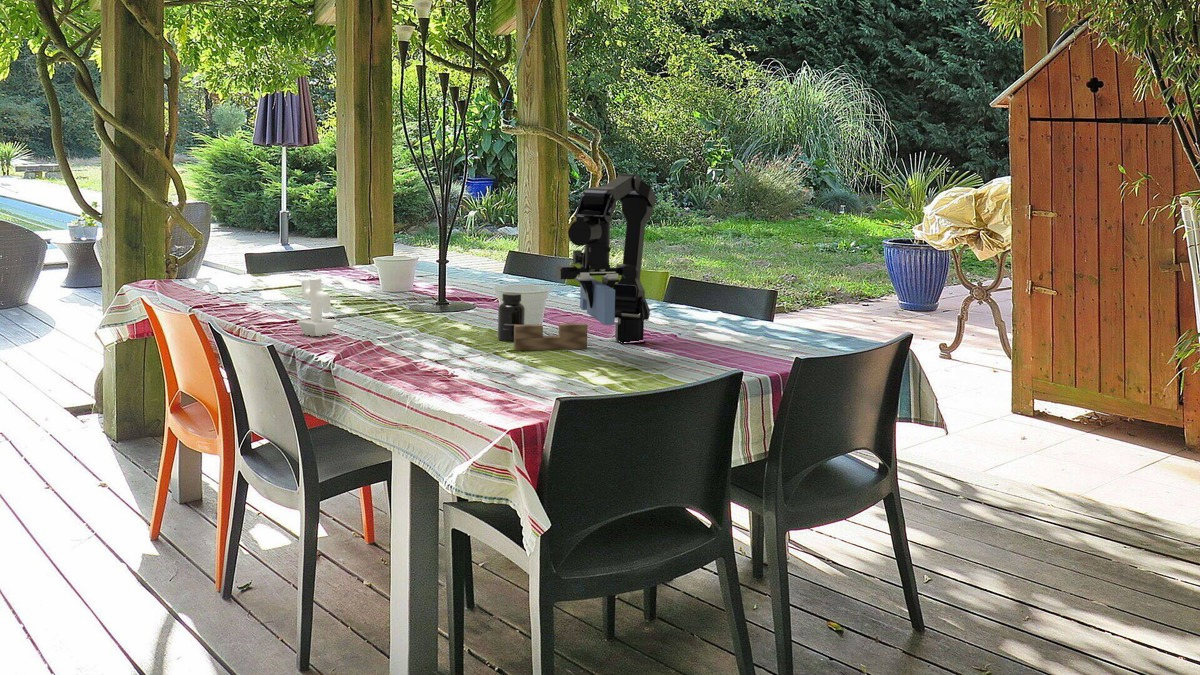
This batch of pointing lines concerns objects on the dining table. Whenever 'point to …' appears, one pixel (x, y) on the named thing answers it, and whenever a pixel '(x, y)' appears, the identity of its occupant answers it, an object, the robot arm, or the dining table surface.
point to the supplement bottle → (510, 316)
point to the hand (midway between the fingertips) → (596, 307)
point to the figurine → (316, 308)
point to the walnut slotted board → (550, 337)
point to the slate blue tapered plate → (600, 302)
